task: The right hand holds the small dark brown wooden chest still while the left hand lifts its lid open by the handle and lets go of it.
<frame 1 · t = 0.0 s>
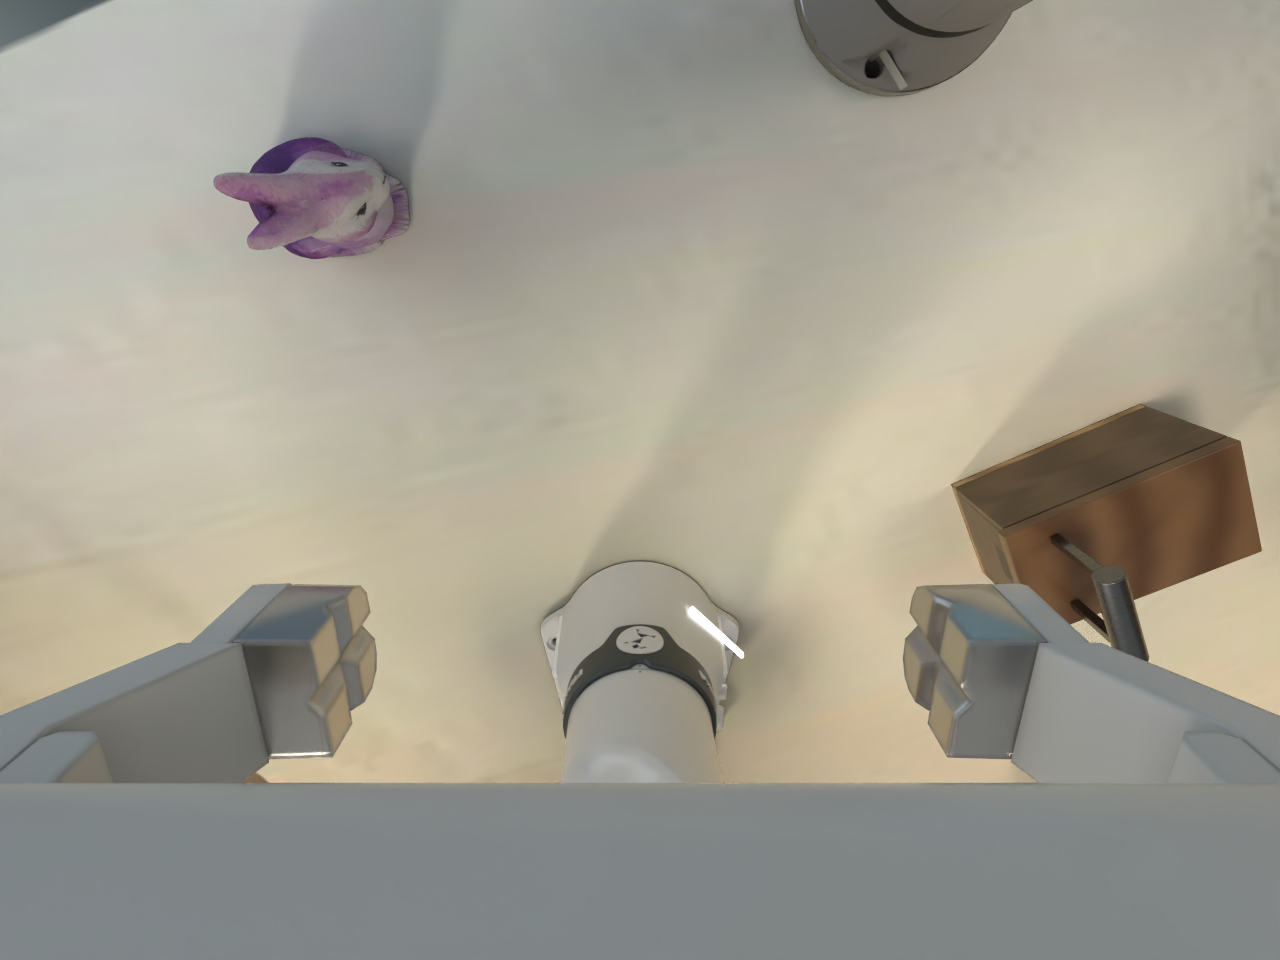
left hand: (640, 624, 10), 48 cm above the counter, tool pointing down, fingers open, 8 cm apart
chest: (1058, 491, 61), on the counter
figurine: (352, 198, 53), on the counter
lid: (1163, 564, 48), point 14 cm above the counter, hinge at 0.0°
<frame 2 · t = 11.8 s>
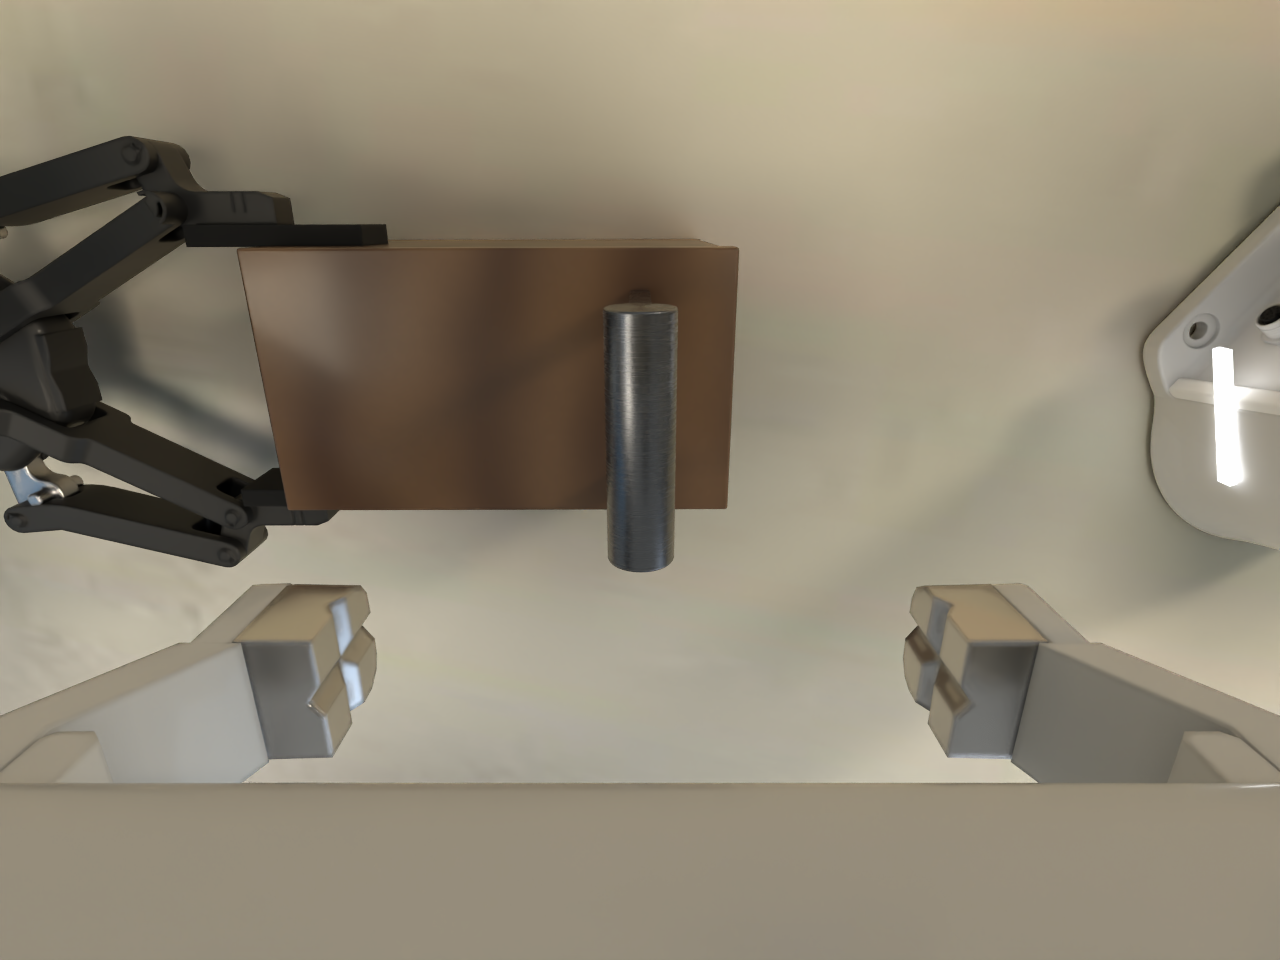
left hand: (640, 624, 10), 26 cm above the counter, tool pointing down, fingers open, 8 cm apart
right hand: (392, 368, 28), fingers closed on chest, 10 cm apart
chest: (532, 341, 35), on the counter, touching right hand
lid: (479, 410, 22), point 14 cm above the counter, hinge at 0.0°
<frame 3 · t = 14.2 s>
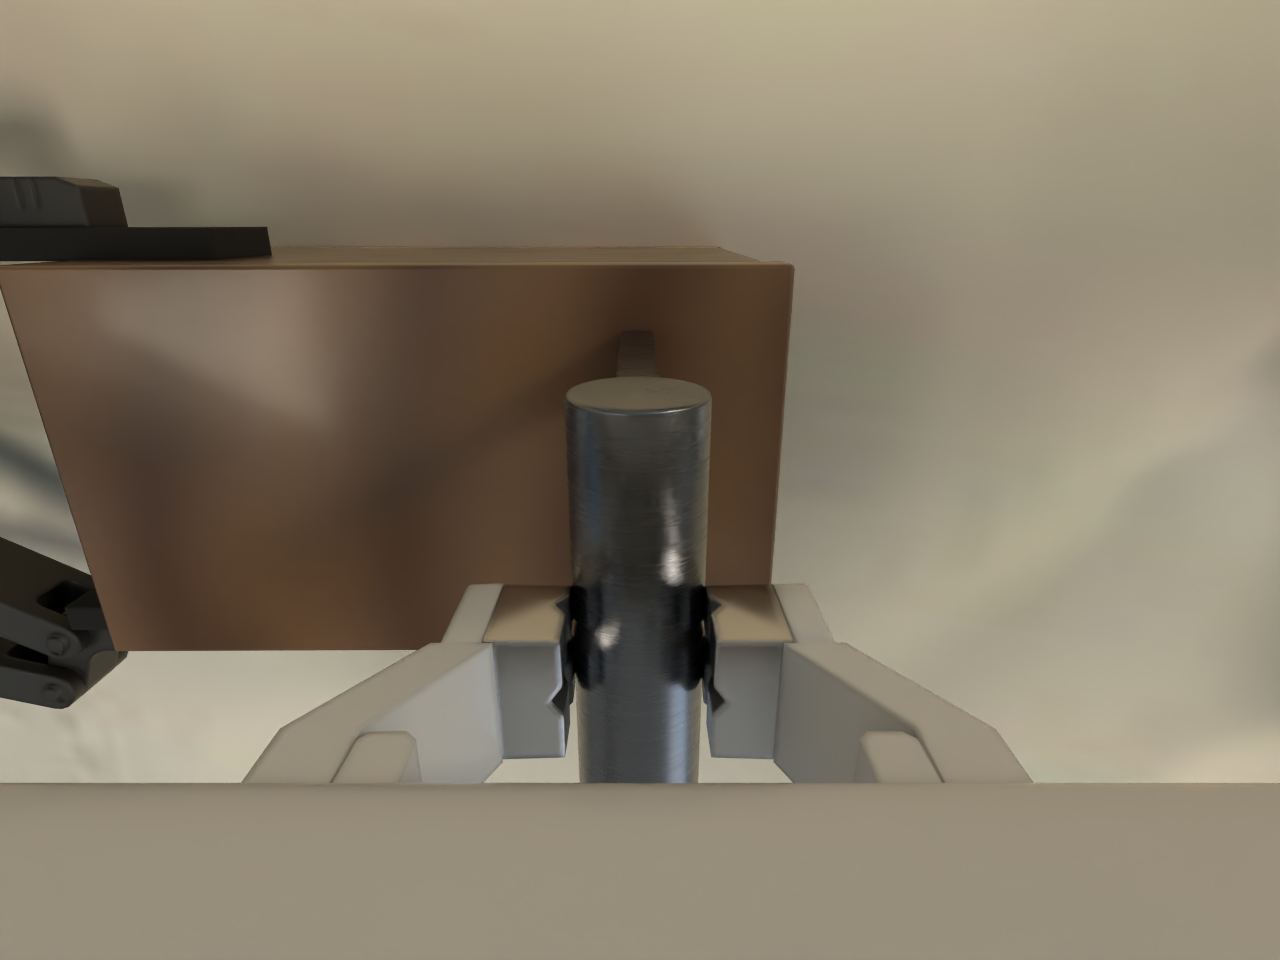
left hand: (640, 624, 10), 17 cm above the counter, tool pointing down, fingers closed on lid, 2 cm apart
chest: (494, 382, 26), on the counter, touching right hand
lid: (372, 534, 13), point 14 cm above the counter, hinge at -0.1°, touching left hand
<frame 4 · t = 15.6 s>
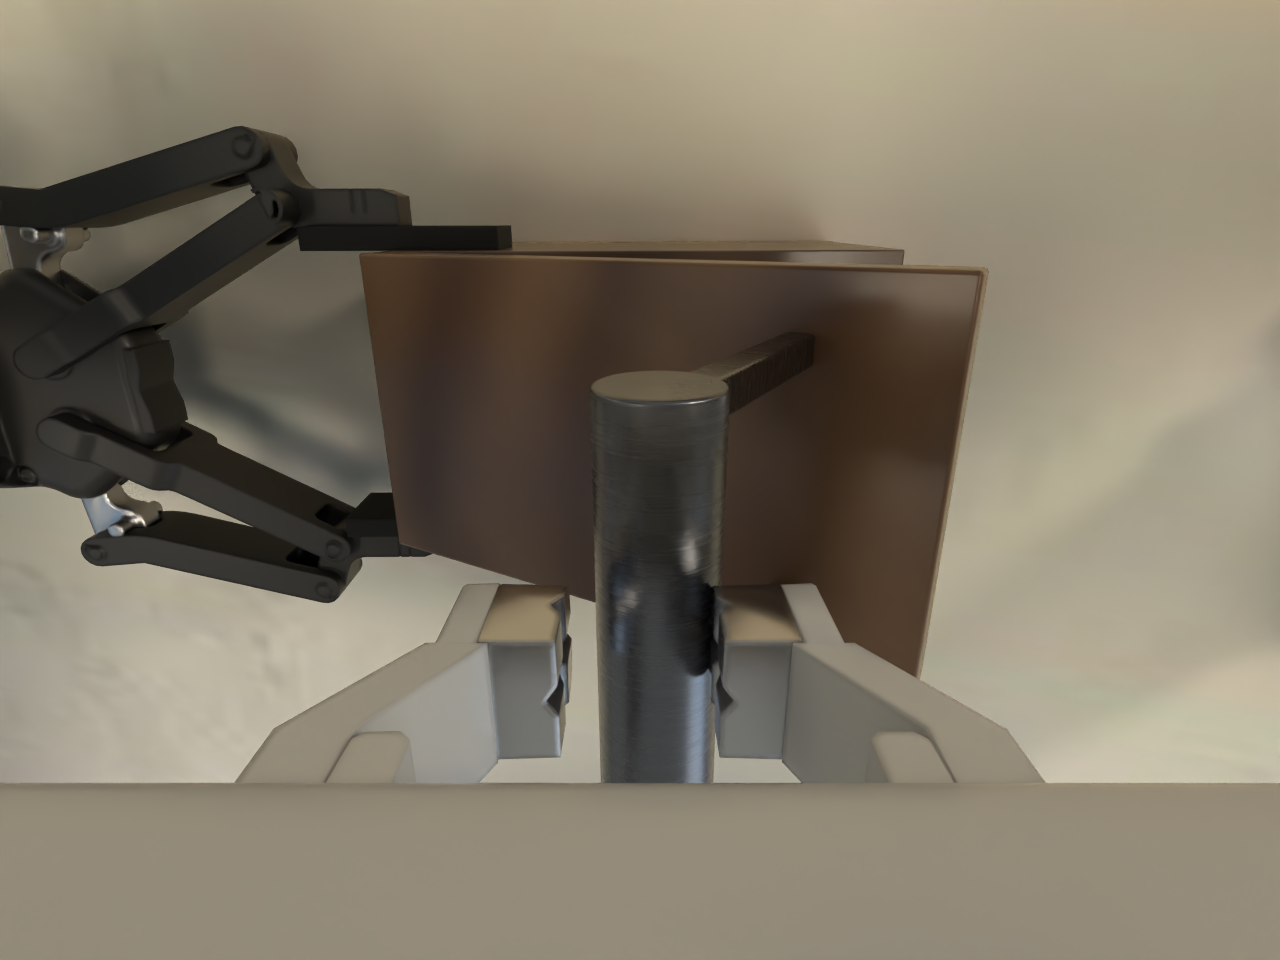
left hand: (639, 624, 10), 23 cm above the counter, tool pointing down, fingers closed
right hand: (514, 385, 26), fingers closed on chest, 10 cm apart
chest: (641, 351, 32), on the counter, touching right hand
lid: (528, 486, 16), point 17 cm above the counter, hinge at 29.9°, touching left hand
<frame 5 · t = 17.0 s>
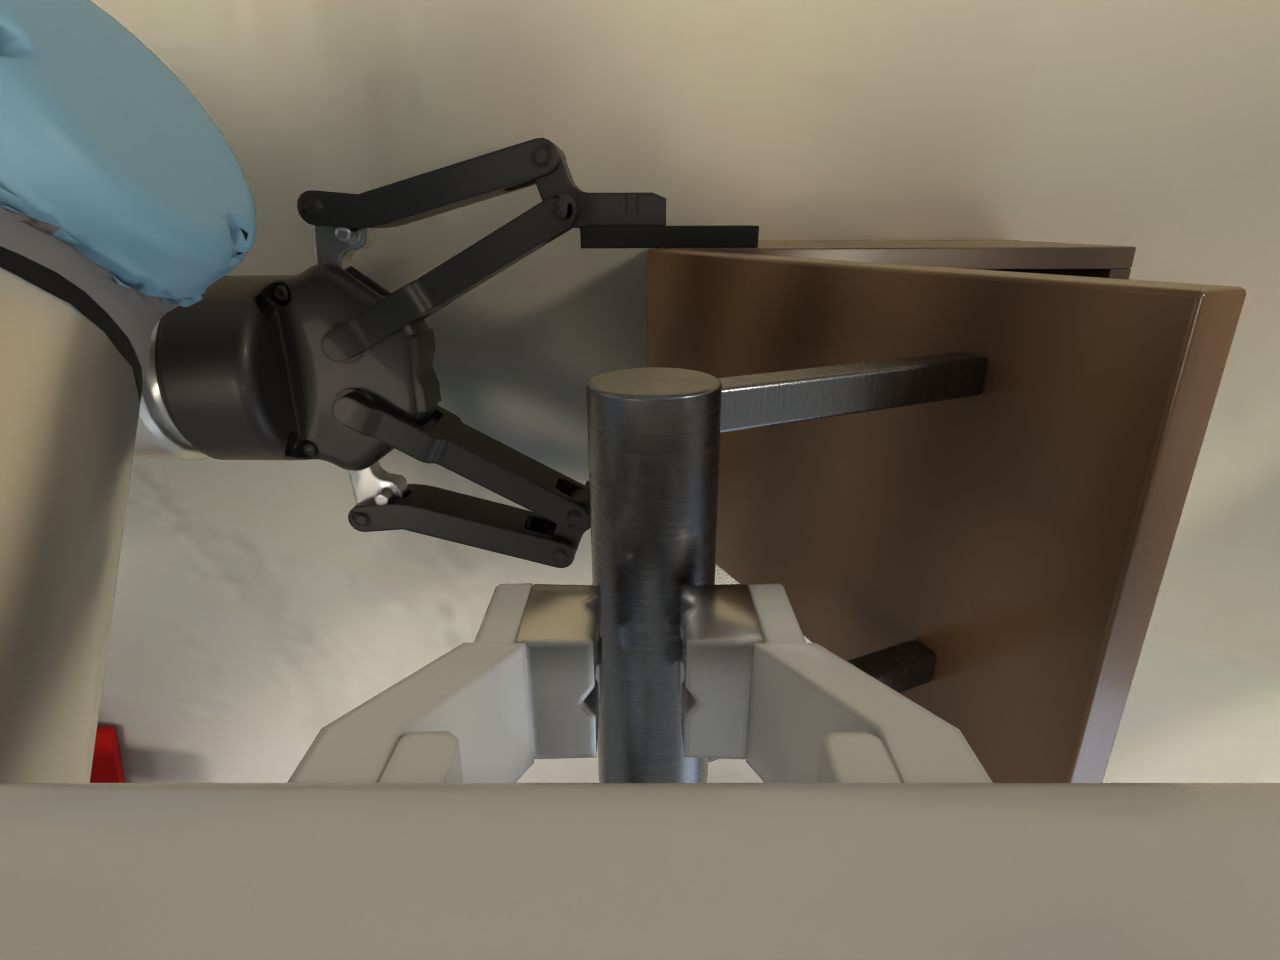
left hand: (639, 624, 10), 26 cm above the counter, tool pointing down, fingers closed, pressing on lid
right hand: (746, 370, 28), fingers closed on chest, 10 cm apart
chest: (825, 342, 35), on the counter, touching right hand
lid: (682, 471, 17), point 19 cm above the counter, hinge at 63.5°, touching left hand
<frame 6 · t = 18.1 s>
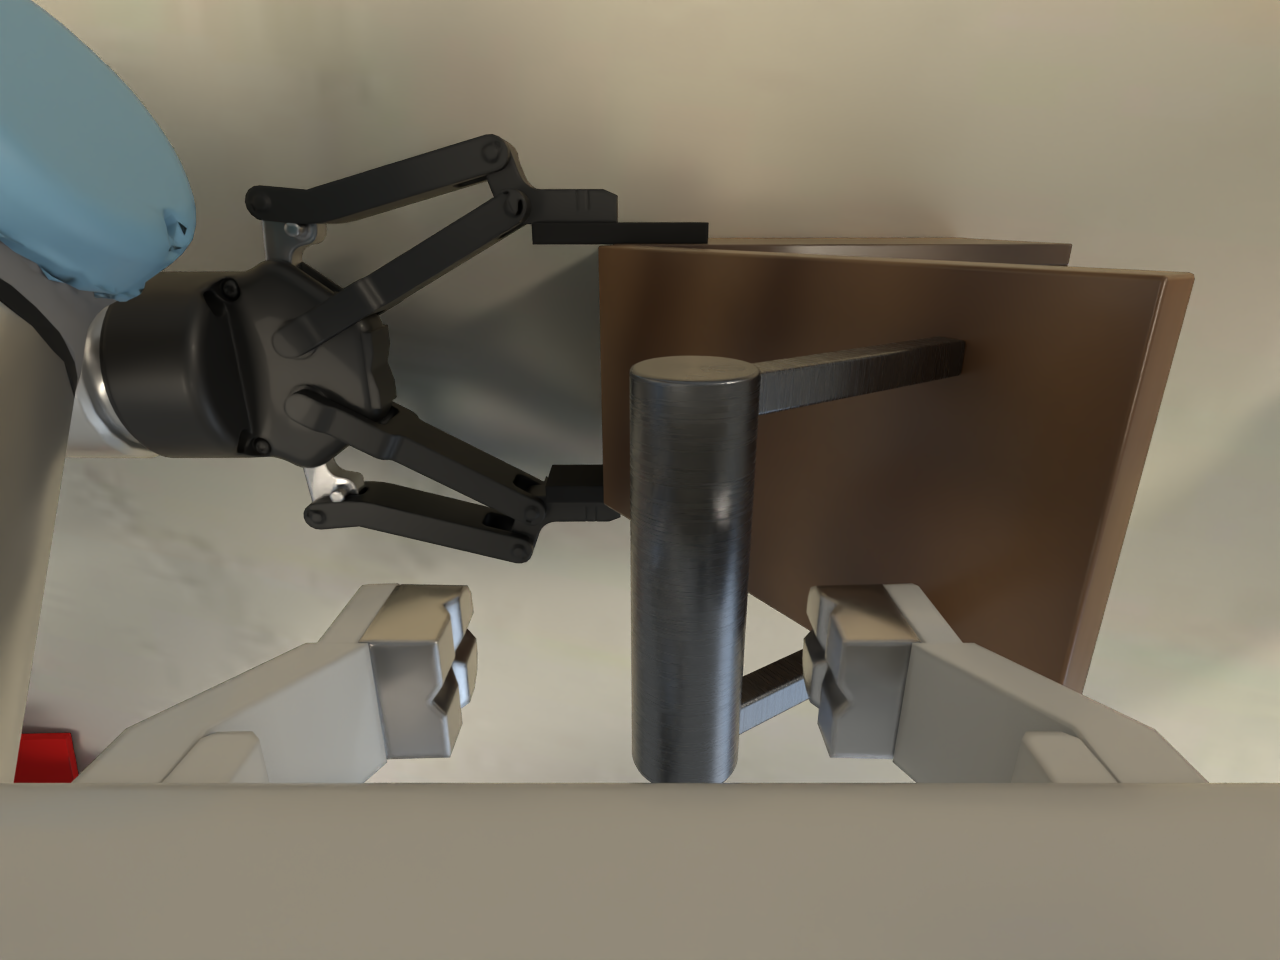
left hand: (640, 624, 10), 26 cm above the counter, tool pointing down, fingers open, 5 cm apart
right hand: (700, 365, 29), fingers closed on chest, 10 cm apart
chest: (781, 338, 35), on the counter, touching right hand
lid: (667, 461, 17), point 19 cm above the counter, hinge at 56.6°
when the right hand's fingers open (7 cm above the counter, at t = 20.9 s): chest stays where it is, on the counter.
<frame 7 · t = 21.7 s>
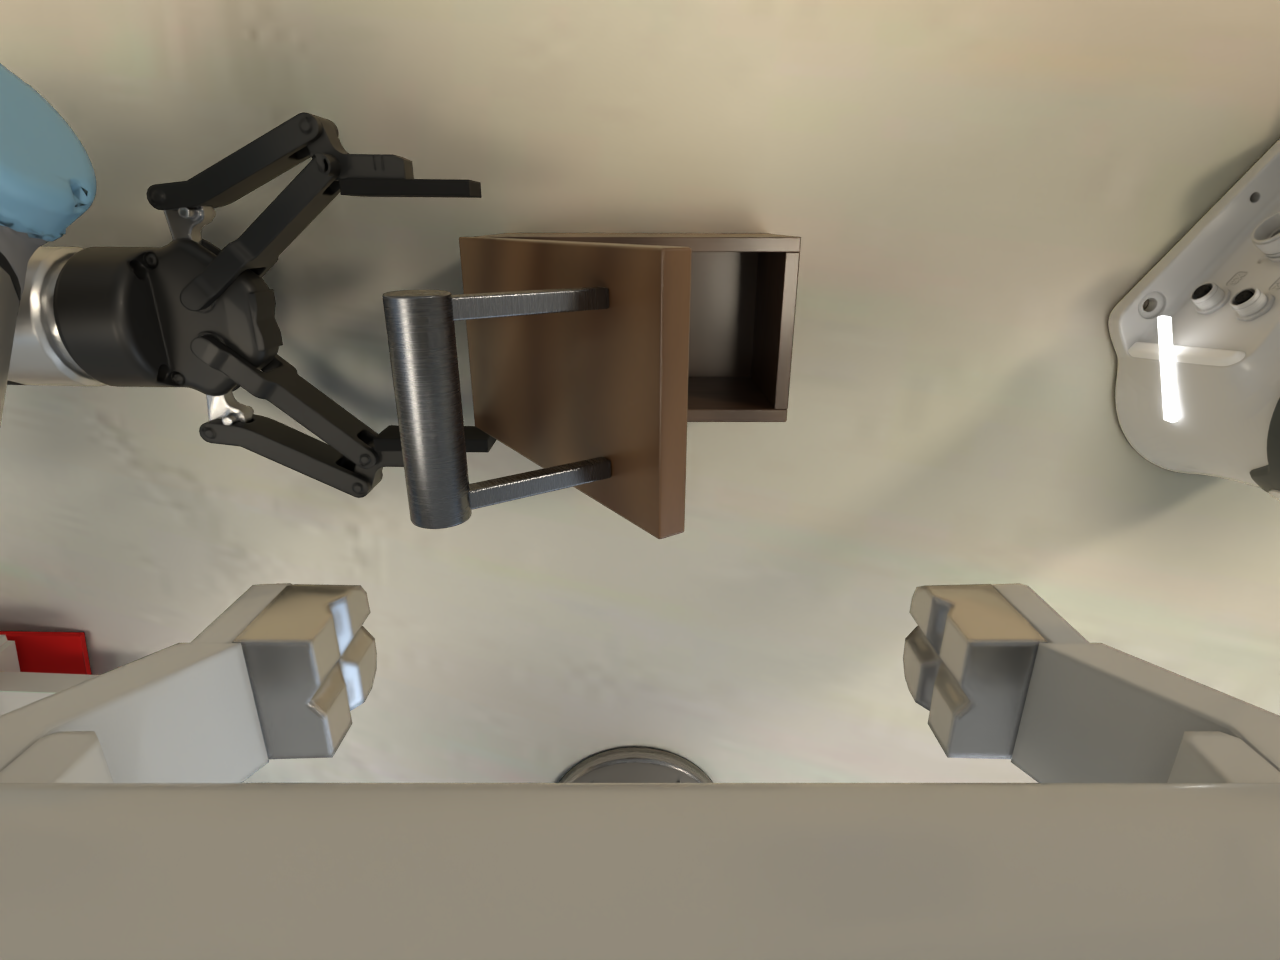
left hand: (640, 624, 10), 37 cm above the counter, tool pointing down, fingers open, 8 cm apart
right hand: (485, 321, 38), fingers open, 13 cm apart
chest: (637, 312, 45), on the counter
lid: (470, 371, 27), point 19 cm above the counter, hinge at 55.8°
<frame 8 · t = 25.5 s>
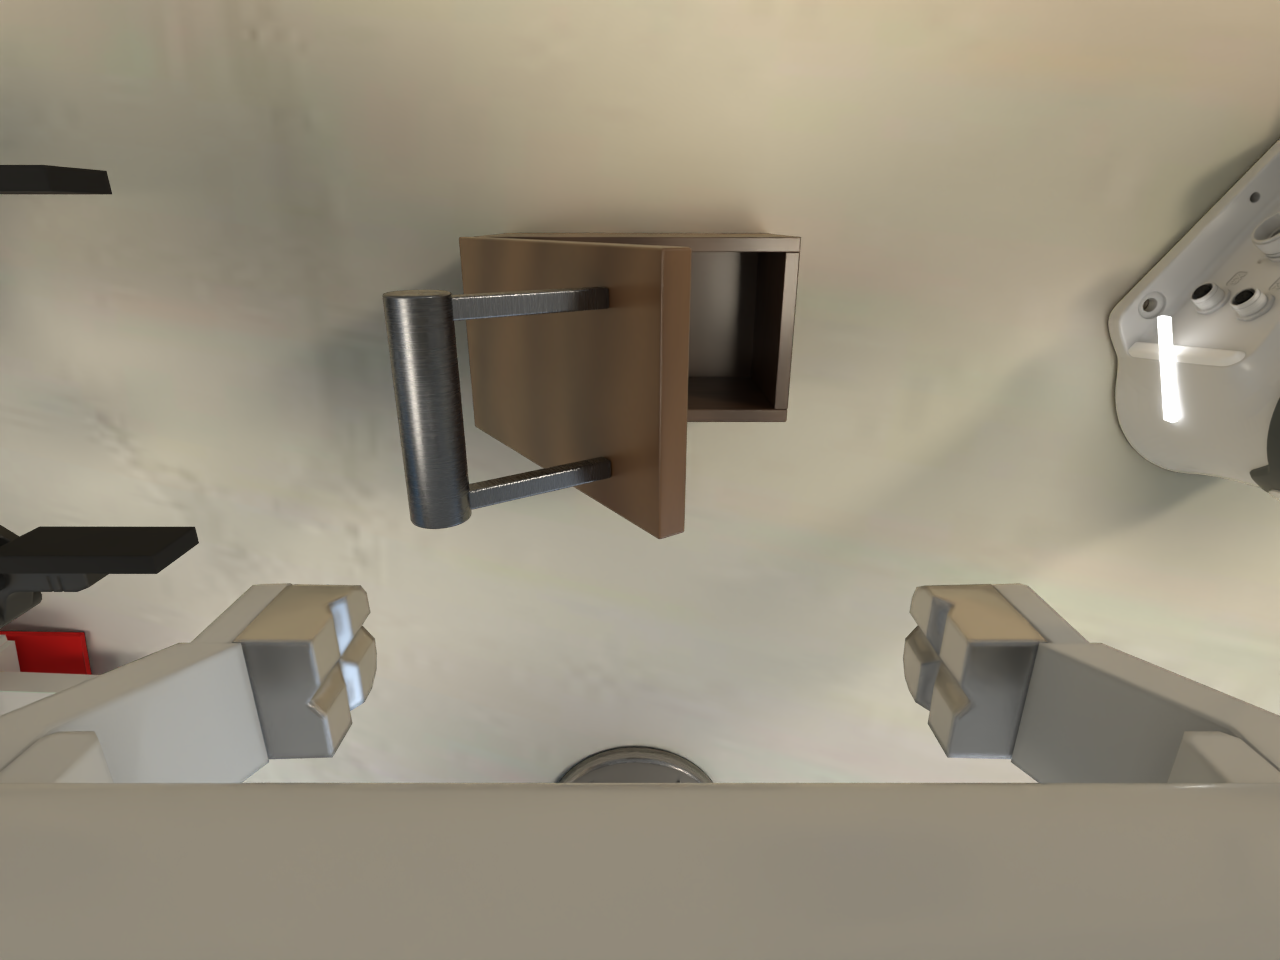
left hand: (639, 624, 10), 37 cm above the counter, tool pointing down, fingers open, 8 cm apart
chest: (637, 312, 45), on the counter
lid: (470, 371, 27), point 19 cm above the counter, hinge at 55.8°
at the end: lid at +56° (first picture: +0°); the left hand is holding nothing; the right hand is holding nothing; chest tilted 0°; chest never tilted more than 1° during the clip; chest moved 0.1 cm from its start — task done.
